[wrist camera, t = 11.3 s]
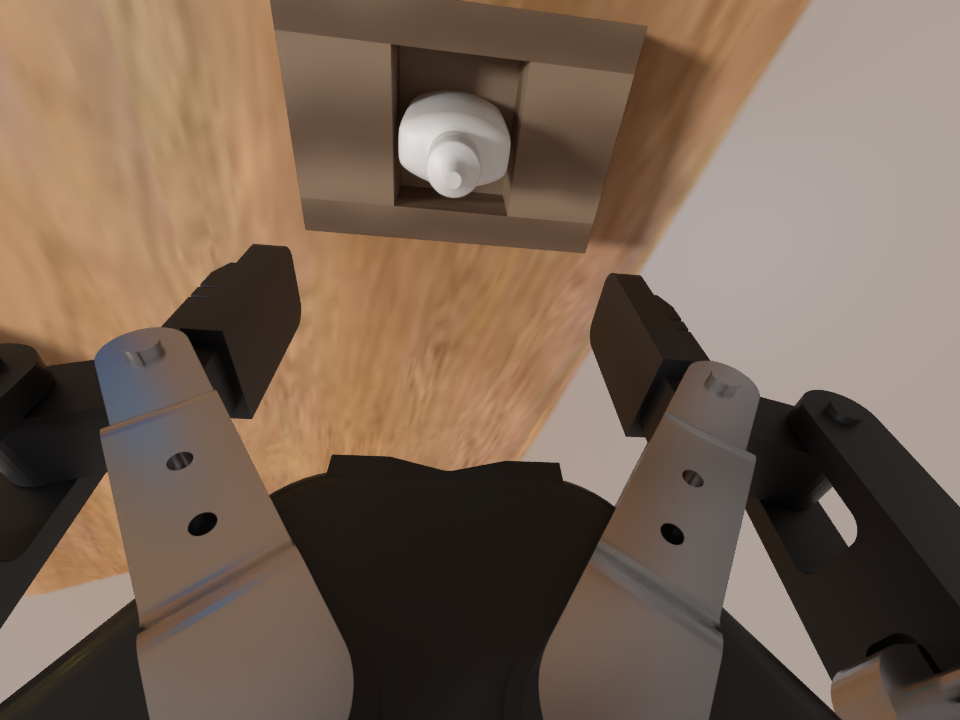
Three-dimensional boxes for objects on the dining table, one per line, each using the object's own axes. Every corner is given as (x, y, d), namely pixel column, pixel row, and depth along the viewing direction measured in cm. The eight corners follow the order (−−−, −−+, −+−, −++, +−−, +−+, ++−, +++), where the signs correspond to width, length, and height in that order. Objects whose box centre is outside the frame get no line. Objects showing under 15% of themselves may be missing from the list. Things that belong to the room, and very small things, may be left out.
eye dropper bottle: (436, 55, 25) (421, 82, 16) (512, 119, 27) (539, 176, 18) (398, 124, 27) (366, 184, 18) (472, 178, 29) (477, 257, 20)
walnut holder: (298, -20, 23) (265, -26, 19) (618, 23, 25) (647, 26, 21) (324, 202, 31) (305, 229, 27) (570, 224, 33) (585, 253, 29)
